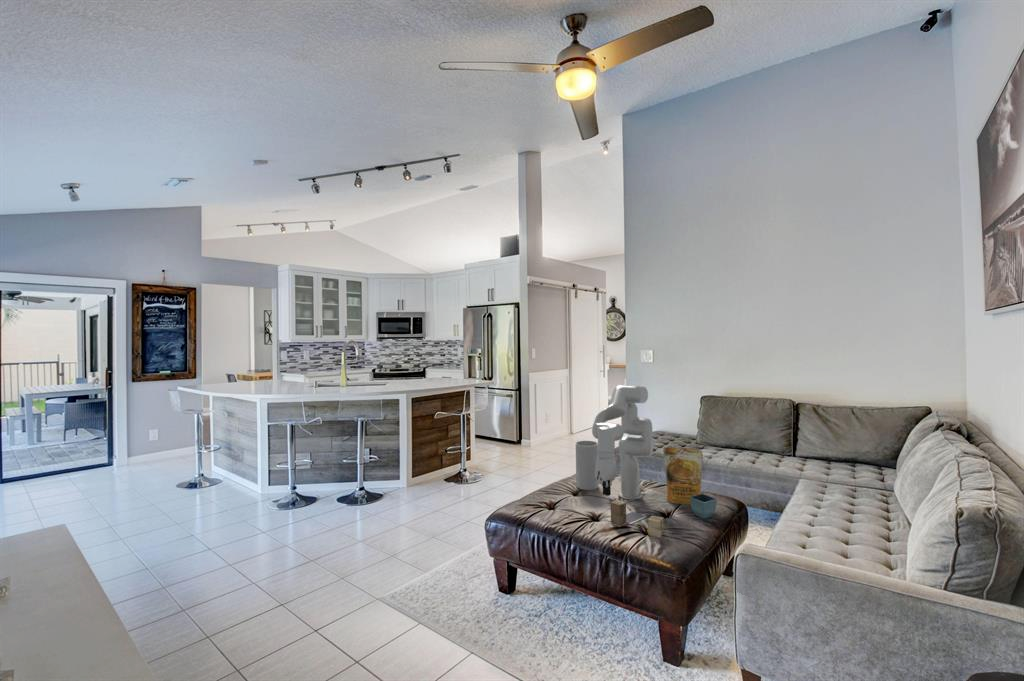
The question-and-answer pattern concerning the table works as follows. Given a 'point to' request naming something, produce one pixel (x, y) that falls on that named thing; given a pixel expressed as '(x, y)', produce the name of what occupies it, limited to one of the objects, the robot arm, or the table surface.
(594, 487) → the cylinder vase
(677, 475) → the pancake mix bag
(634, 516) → the grey rectangular panel
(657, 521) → the oak block
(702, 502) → the flower pot
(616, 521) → the walnut block
